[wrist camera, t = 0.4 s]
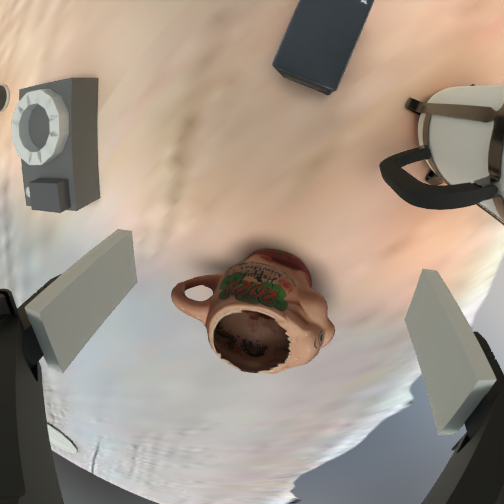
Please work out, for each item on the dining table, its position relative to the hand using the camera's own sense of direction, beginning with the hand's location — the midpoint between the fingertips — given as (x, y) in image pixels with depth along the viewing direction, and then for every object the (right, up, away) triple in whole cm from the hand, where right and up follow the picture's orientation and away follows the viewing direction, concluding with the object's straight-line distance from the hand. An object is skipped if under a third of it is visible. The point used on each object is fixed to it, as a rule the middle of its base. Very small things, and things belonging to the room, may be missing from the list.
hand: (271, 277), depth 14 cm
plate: (-77, -70, +79) cm, 130 cm away
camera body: (-28, +18, +27) cm, 43 cm away
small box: (+7, +25, +18) cm, 31 cm away
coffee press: (+23, +15, +19) cm, 34 cm away
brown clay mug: (+1, -2, +32) cm, 32 cm away
